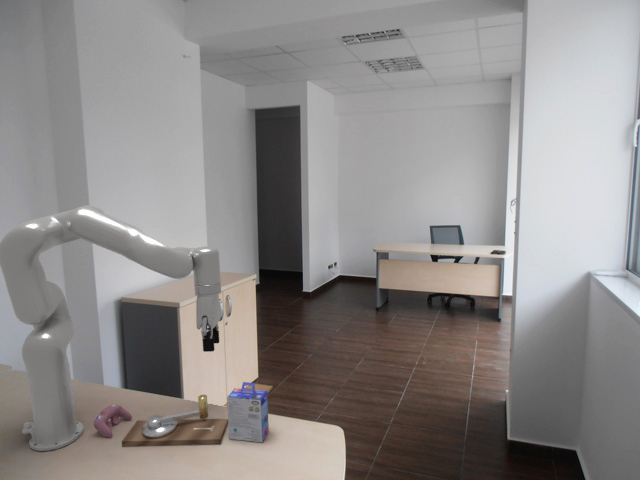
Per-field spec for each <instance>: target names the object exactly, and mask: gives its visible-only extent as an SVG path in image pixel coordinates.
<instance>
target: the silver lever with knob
mask: <svg viewBox="0 0 640 480" xmlns="http://www.w3.org/2000/svg"><path fill="white" fill-rule="evenodd" d="M197 401H198V403H197V404H198V409H196V410H190V411H185V412H180V413H175V414H170V415H153V416H150V417H148V419H146V420H147V422H146V423H145V424H144V425H143V427H142V434H143V436H145V437H147V438H160V437H164V436H166V435H169V434H170V433H172V432H173V431H174V430H175V429H176V427H177V421H178V420H186V419H191V418H197V417H199V419H208V417H209V409H208V408H209V406H208V395H207V394H201V395H199V396H198V397H197Z"/></svg>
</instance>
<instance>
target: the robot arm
mask: <svg viewBox="0 0 640 480" xmlns="http://www.w3.org/2000/svg"><path fill="white" fill-rule="evenodd" d="M77 240H83V241H86V242H88V243H91V244H93V245H96V246H97V247H101V248H103V249H106V250H109V251H111V252H114V253H116V254H118V255H121V256H122V257H125V258H126V259H128V260H130V261H131V262H133V263H137V264H139V265H140V266H142V267H144V268H146V269H148V270H151V271H153V272H156V273H158V274H160V275H163V276H166V277H168V278H170V279H176V280H181V279H184V278H186V277H187V276H189V275H190V274H191V273H192V272H193V284H194V295H195V297H196V304H195V305H196V306H195V308H196V310H195V311H196V312H195V314H196V329H197V330H201V331H200V333H201V338H202V352H209V353H210V352H214V351H215V344H219V343H220V331H219V327H220V326H219V322H220V319H221V307H220V306H221V305H220V304H221V303H220V295H221V294H222V283H221V280H222V279H221V267H220V265H221V264H220V252H219V249H218V248H217V247H215V246H199V247H183V246H182V247H181V246H178V247H174V248H172V247H170V246H168V245H165V244H163V243H160V242H159V241H157V240H155V239H154V238H152V237H150V236H149V235H147V234H146V233H145V232H143V230H141V229H140V228H139V227H136V226H135V225H132V224H130V223H127V222H125V221H123V220H121V219H118V218H116V217H113V216H111V215H109V214H106V213H105V212H104V211H103V210H102V209H101V208H99V207H98V206H95V205H88V204H87V205H82V206H79V207H76V208H73V209H71V210H67V211H62V212H58V213H55V214H50V215H47V216H43V217H39V218H38V217H37V218H35V219H30V220H27V221H24V222H22V223H20V224H17V225H16V226H14V227H13V228H12V229H11V230H10V231H8V232H7V233H6V234H5V235H4V236H3V237H2V239H1V241H0V269H1V272H2V275H3V278H4V282H5V287H6V288H7V293H8V296H9V299H10V302H11V306H12V310H13V312H14V315H15V316H16V317H15V318H17V319H18V320H19V321H20V322H21V323H23V324H26V325H31V326H33V329H32V331H30V333H29V334H27V336H26V338H25V339H24V341H23V344H22V347H21V356H22V360H23V364H24V368H25V371H26V374H27V381H28V389H29V394H30V402H31V409H32V418H33V419H32V420H33V421H25V422H24V424H23V428H22V430H21V434H23V435H27V434H30V435H31V437H30V439H29V442H28V443H29V447H30V449H31V450H34V451H36V452H49V451H53V450H56V449H60V448H63V447H65V446H68V445H70V444H72V443H73V442H75V441H76V440H77V439H79V437H81V436H82V434H83V432H84V425H83V423H82V422H81V421H78V420H77V417H76V411H75V410H76V409H75V400H74V393H73V392H74V390H73V381H72V375H71V373H72V372H71V367H70V363H69V359H68V354H67V348H68V346H69V344H70V343H71V341H72V339H73V336H74V332H75V331H74V330H75V329H74V324H73V320H72V317H71V313H70V309H69V307H68V303H67V300H66V296H65V294H64V292H63V291H62V289H61V288H60V286H59V285H57V284H56V283H54V282H52V281H49V280H47V277H46V273H45V270H44V267H43V265H42V263H41V261H40V255H41V254H42V253H44V252H46V251H48V250H50V249H52V248H53V247H56V246H60V245H62V244H67V243H70V242H74V241H77Z"/></svg>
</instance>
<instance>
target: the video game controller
mask: <svg viewBox="0 0 640 480" xmlns="http://www.w3.org/2000/svg"><path fill="white" fill-rule="evenodd" d="M132 416H133V415H132V413H130V411H128V410H126V409H125V408H124V406H122V405H121V404H118V403H116V404H112V405H110V406H107V407H105V408H104V409H102V410H101V411H100V412H99V414H98V415H97V416H96V417H95V418H94V419H93V427H94V429H96V431H98V432H99V433H100V435H103V437H104V436H105V437H106V438H109V439H110V438H112V437H113V435H114V433H113V431H112V428H113V426H116V425H118V424H119V423H120V418H122V419H124V420H126V421H131V420H132V418H133V417H132ZM109 420H110V421H109Z"/></svg>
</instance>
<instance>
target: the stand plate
mask: <svg viewBox="0 0 640 480" xmlns="http://www.w3.org/2000/svg"><path fill="white" fill-rule="evenodd" d="M147 420H148V419H146V420H144V419H143V420H136V422H135V423H134V424H133V426H132V427H131V428H130V430H128V432H127V434H126V435H125V436H124V437H123V439H122V440H121V447H122V448H123V447H124V448H125V447H127V448H128V447H164V446H165V447H166V446H167V447H168V446H171V447H172V446H203V445H204V446H207V445H210V446H211V445H212V446H213V445H214V446H215V445H221V444H222V443H223V439H224V436H225V434H226V431H227V429H228V427H229V426H228V418H205V419H200V418H197V419H195V418H194V419H191V418H188V419H183V420H178V421H177V427H176V429H175V430H174V431H173V432H172V433H170V434H169V435H166V436H164V437H160V438H147V437H145V436H143V434H142V427H143V425H144V424H145V423H146V422H147Z"/></svg>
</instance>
